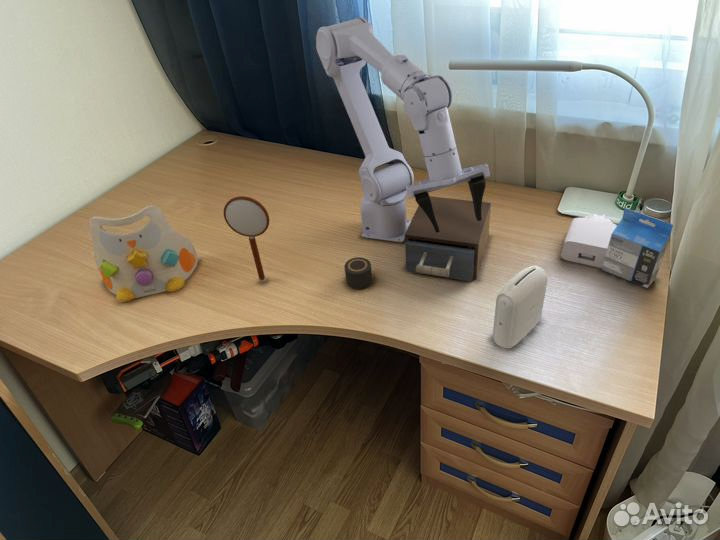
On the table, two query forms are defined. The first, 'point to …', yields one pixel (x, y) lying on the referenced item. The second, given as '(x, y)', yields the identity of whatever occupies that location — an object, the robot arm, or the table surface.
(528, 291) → the photo printer
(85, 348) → the table surface
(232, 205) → the magnifying glass
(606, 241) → the charger
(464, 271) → the drawer
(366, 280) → the cylinder
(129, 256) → the shape sorter
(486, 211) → the cabinet
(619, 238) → the label tape box
